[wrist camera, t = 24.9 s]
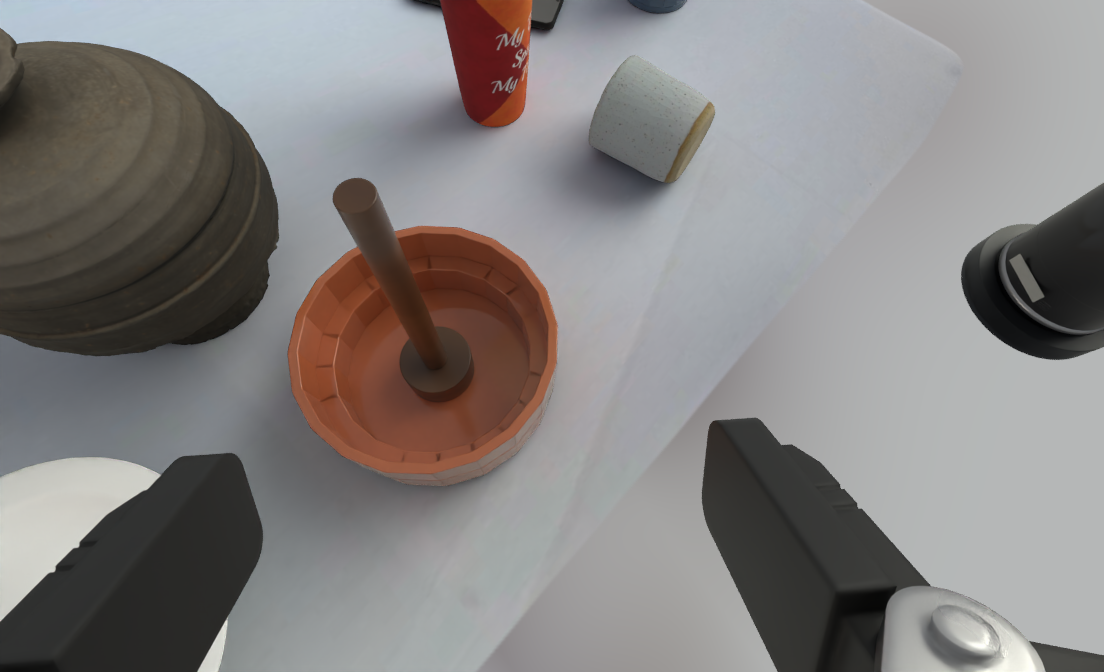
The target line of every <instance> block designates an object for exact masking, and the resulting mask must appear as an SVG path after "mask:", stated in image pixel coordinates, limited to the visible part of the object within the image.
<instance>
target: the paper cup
mask: <svg viewBox="0 0 1104 672" xmlns="http://www.w3.org/2000/svg"><path fill="white" fill-rule="evenodd" d="M440 2H441V7H442V11H443V16H444V20H445V25H446V30H447V34H448V39H449V43H450V48H451V52H452V57H453V61H454V66H455V70H456V74H457V79H458V83H459V88H460V92H461V96H462V100H463V104H464V107H465V110H466V112H467V114H468V115H469V117H470V118H471V119H472V120H474V121H475V122H477V123H479V124H481V125H485V126H490V127H500V126H505V125H508V124H510V123H512V122H514V121H515V120H517V119H518V118H519V117H520V115H521V114H522V112H523V110H524V106H525V99H526V88H527V74H528V59H529V44H530V28H531V12H532V0H440Z"/></svg>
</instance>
